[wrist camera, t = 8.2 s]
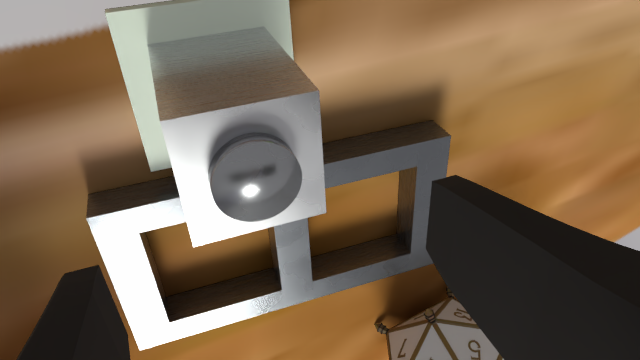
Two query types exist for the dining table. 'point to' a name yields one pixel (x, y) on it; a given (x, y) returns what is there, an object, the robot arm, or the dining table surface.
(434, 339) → the game die
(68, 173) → the dining table surface
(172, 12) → the tray
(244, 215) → the grey knob block
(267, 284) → the metal frame
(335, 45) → the dining table surface
